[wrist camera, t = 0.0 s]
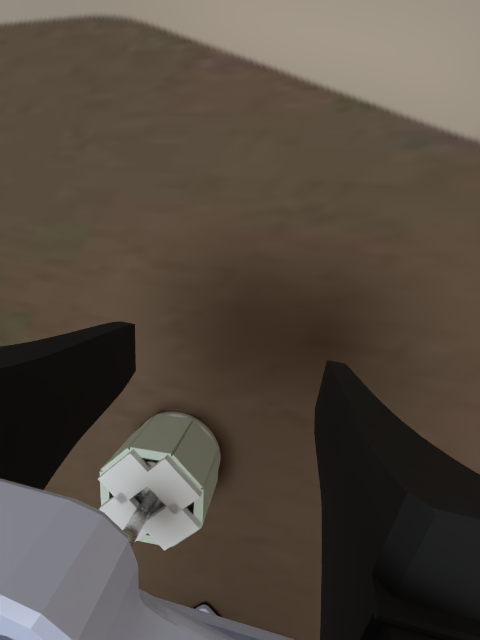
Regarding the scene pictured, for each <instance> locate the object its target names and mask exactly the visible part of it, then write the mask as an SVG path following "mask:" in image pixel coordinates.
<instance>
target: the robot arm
mask: <svg viewBox="0 0 480 640" xmlns="http://www.w3.org/2000/svg"><path fill="white" fill-rule="evenodd" d="M135 371H136V365H135V324H131V323H125V322H112V323H107V324H102V325H98V326H94V327H90V328H86V329H83V330H79V331H75V332H71V333H67V334H63V335H59V336H54V337H50V338H46V339H41V340H37V341H32V342H27V343H21V344H15V345H9V346H2V347H0V640H295V639H292V638H289V637H286V636H282V635H279V634H276V633H272V632H269V631H266V630H263V629H259V628H256V627H253V626H249V625H246V624H243V623H239V622H236V621H233V620H230V619H226V618H223V617H220V616H217V615H216V614H215V613H214V612H213V611H212V610H211V609H210V607H209V606H207V605H201V606H199V607H197V608H195V609H193V608H190V607H187V606H183V605H180V604H177V603H173V602H170V601H167V600H164V599H160V598H157V597H154V596H152V595H150V594H148V593H146V592H144V591H142V590H140V589H138V564H137V561H136V558H135V555H134V553H133V550H132V547H131V545H130V542H129V539H128V537H127V534H126V533H125V532H124V531H123V530H122V529H121V528H120V527H119V526H118V525H117V524H116V523H114V522H113V521H112V520H111V519H110V518H109V517H108V516H107V515H106V514H105V513H104V512H102V511H100V510H98V509H96V508H93V507H91V506H89V505H87V504H85V503H83V502H80V501H78V500H76V499H74V498H70V497H67V496H63V495H59V494H56V493H52V492H48V491H45V490H44V488H45V487H46V485H47V484H48V482H49V481H50V479H51V478H52V476H53V475H54V473H55V472H56V470H57V469H58V468H59V466H60V465H61V463H62V462H63V461H64V459H65V458H66V457H67V455H68V454H69V452H70V451H71V450H72V448H73V447H74V446H75V444H76V443H77V442H78V441H79V440H80V438H81V437H82V436H83V435H84V434H85V432H86V431H87V430H88V429H89V428H90V427H91V426H92V425H93V424H94V422H95V421H96V420H97V419H98V418H99V417H100V416H101V415H102V414H103V412H104V411H105V410H106V409H107V408H108V407H109V406H110V405H111V403H112V402H113V401H114V400H115V399H116V398H117V397H118V396H119V394H120V393H121V392H122V391H123V389H124V388H125V386H126V385H127V383H128V382H129V380H130V379H131V377H132V376H133V374H134V372H135ZM314 433H315V443H316V453H317V462H318V471H319V480H320V489H321V502H322V585H321V629H320V640H480V475H479V474H478V473H476V472H474V471H472V470H471V469H469V468H467V467H466V466H464V465H463V464H461V463H459V462H458V461H456V460H455V459H453V458H452V457H450V456H449V455H447V454H446V453H444V452H443V451H441V450H440V449H438V448H437V447H435V446H434V445H432V444H431V443H430V442H428V441H427V440H425V439H424V438H423V437H421V436H420V435H419V434H417V433H416V432H415V431H414V430H412V429H411V428H410V427H409V426H407V425H406V424H405V423H404V422H402V421H401V420H400V419H399V418H398V417H397V416H395V415H394V414H393V413H392V412H391V411H390V410H389V409H388V408H387V407H386V406H385V405H384V404H383V403H382V402H381V401H380V400H379V399H378V398H377V397H376V396H375V395H374V394H373V393H372V392H371V391H370V390H369V389H368V388H367V387H366V386H365V385H364V384H363V383H362V381H361V380H360V379H359V378H358V377H357V376H356V375H355V374H354V373H353V371H352V370H351V369H350V368H349V367H348V366H347V365H346V364H344V363H338V362H333V361H328V360H327V363H326V367H325V371H324V375H323V379H322V383H321V387H320V391H319V395H318V399H317V403H316V407H315V432H314Z"/></svg>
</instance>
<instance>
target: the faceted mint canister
mask: <svg viewBox="0 0 480 640" xmlns="http://www.w3.org/2000/svg"><path fill="white" fill-rule="evenodd" d="M144 460H153V461H157V463H156V464H155V465H153V466H152V467H151V468H150V467H149V466H148V465H147V464H146V463H145V462H144ZM220 460H221V454H220V448H219V445H218V442H217V440H216V438H215V436H214V434H213V433H212V431H211V430H210V429H209V428H208V427H207V426H206V425H205V424H204V423H203V422H201V421H200V420H198V419H197V418H195V417H193V416H191V415H189V414H186V413H182V412H174V411H171V412H163V413H159V414H157V415H155V416H153V417H151V418H150V419H148V420H147V421H146V422H145V423H144V424H143V425H142V426H141V427H140V428H139V429H138V430H137V431H135V432H134V433H133V434H132V435H131V436H130V437H129V438H128V439H127V440H126V442H125V443H124V444H123V445H122V446H121V447H120V448H119V449H118V451H117V452H116V453H115V454H114V455H113V456H112V457H111V458H110V460H109V461H108V462H107V463H106V464H105V465H104V466H103V467H102V468H101V471H100V477H99V478H98V480H99V481H100V489H101V507H100V508H99V509H100V510H101V511H102V512H104V513H105V514H106V515H107V516H108V517H109V518H110V519H111V520H112V521H113V522H114V523H116V524H117V525H118V526H119V527H120V528H121V529H122V530H123V529H124V528H125V526H126V524H127V523H128V521H129V519H130V518H131V516H132V515H133V513H134V511H135V510H136V508H137V506H138V505H139V502H138V501H137V500H136V499H135V498H134V497H133V496H135V495H136V494H137V493H139V492H140V491H141V490H143V489H144V488H145V487H147V486H148V487H149V488H150V489H151V490H152V491H153V492H154V493H155V495H156V496H157V497H158V498H159V499H160V500H161V501H162V502H163V503H164V504H165V505H164V506H163V507H162V508H160V509H159V510H157V511H156V512H154V513H153V514H152V515H149V517H148V519H147V520H146V522H145V524H144V526H143V528H142V530H141V531H140V533H139V535H138V537H137V539H136V540H135V542H136V541H142V542H147V543H152V544H156V545H160V547H161V548H162V549H163V550H164V551H165V550H166V549H168V548H169V547H171V546H172V547H173V546H175V545H176V544H178V543H179V542H181V541H182V540H184V539H185V538H187V537H188V536H190V535H192V534H193V533H195V532H196V531H198V530H199V529H201V527H202V526H203V523H204V520H205V517H206V514H207V511H208V508H209V505H210V502H211V499H212V496H213V493H214V490H215V487H216V484H217V481H218V469H219V466H220ZM188 505H189V508H187V506H188Z"/></svg>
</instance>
